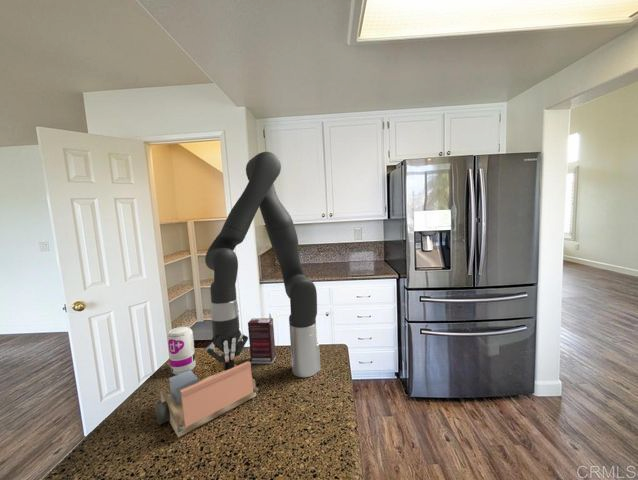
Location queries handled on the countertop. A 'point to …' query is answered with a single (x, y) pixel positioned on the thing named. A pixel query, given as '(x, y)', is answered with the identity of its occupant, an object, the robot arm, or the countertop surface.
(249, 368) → the pink rectangular board
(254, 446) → the countertop surface
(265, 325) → the supplement box
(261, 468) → the countertop surface
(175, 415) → the flatbed
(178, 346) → the supplement can
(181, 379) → the blue gray block
